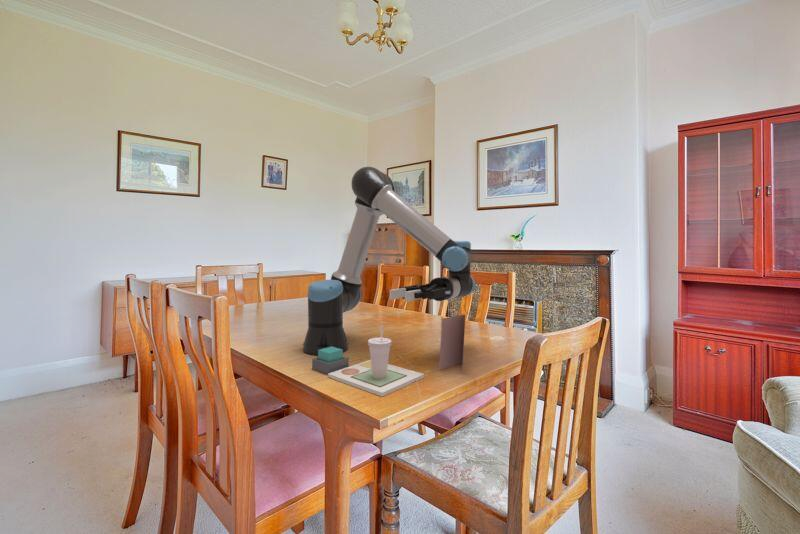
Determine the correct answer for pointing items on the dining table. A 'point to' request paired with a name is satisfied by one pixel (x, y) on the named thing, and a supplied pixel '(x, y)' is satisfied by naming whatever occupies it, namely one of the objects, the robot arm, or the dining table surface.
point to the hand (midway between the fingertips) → (398, 295)
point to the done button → (330, 354)
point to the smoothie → (379, 355)
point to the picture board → (364, 380)
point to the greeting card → (452, 341)
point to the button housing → (329, 365)
